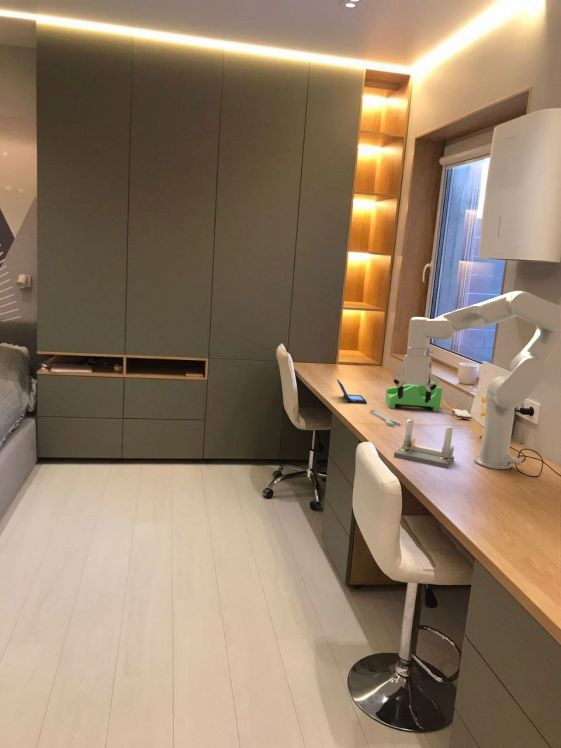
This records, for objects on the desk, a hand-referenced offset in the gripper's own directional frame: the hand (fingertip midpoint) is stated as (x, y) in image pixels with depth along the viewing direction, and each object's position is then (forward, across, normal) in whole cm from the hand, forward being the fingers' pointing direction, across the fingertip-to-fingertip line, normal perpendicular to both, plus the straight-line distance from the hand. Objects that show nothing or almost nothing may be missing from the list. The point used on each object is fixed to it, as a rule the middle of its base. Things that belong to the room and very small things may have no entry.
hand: (413, 400), depth 223 cm
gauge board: (+20, -6, 0) cm, 21 cm away
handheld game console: (+20, +51, -72) cm, 90 cm away
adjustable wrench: (+21, +25, -46) cm, 56 cm away
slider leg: (+18, +1, -1) cm, 18 cm away
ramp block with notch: (+21, +22, -80) cm, 86 cm away
